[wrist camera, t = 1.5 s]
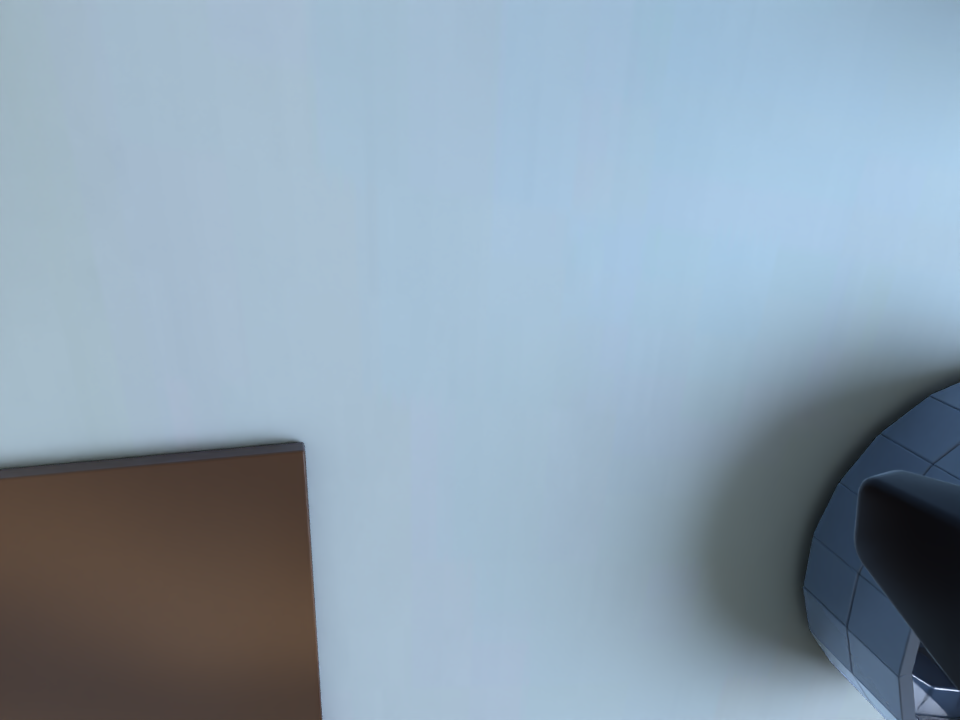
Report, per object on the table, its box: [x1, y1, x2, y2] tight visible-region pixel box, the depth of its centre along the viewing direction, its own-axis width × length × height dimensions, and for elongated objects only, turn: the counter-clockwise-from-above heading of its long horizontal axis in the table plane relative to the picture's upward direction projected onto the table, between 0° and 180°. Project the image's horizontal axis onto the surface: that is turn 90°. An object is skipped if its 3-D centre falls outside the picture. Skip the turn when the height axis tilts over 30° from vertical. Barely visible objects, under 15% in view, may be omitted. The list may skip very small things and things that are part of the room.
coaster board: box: [0, 442, 322, 720], centre depth 21 cm, size 14×14×1 cm
